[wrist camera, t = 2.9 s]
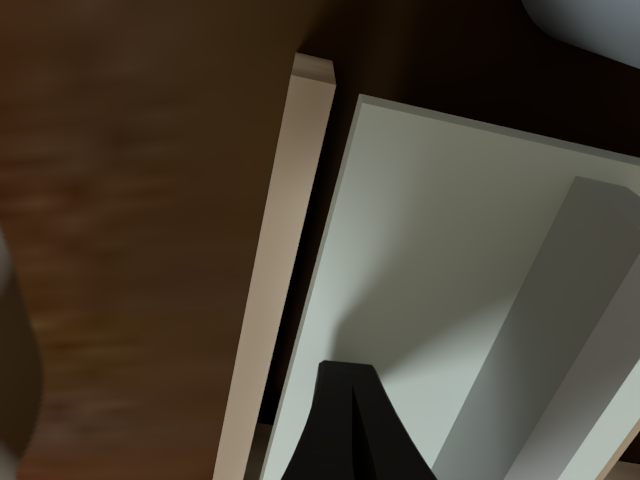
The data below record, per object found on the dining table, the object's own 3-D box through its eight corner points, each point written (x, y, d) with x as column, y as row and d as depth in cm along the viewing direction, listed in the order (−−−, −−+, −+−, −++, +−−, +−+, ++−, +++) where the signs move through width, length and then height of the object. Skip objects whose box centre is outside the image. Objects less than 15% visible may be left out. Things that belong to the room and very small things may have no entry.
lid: (769, 188, 12) (928, 268, 9) (527, 537, 19) (570, 655, 16) (359, 93, 11) (376, 148, 8) (253, 500, 18) (240, 619, 14)
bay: (942, 204, 16) (1065, 253, 13) (679, 503, 23) (726, 573, 20) (295, 52, 14) (291, 75, 11) (221, 435, 21) (207, 504, 18)
